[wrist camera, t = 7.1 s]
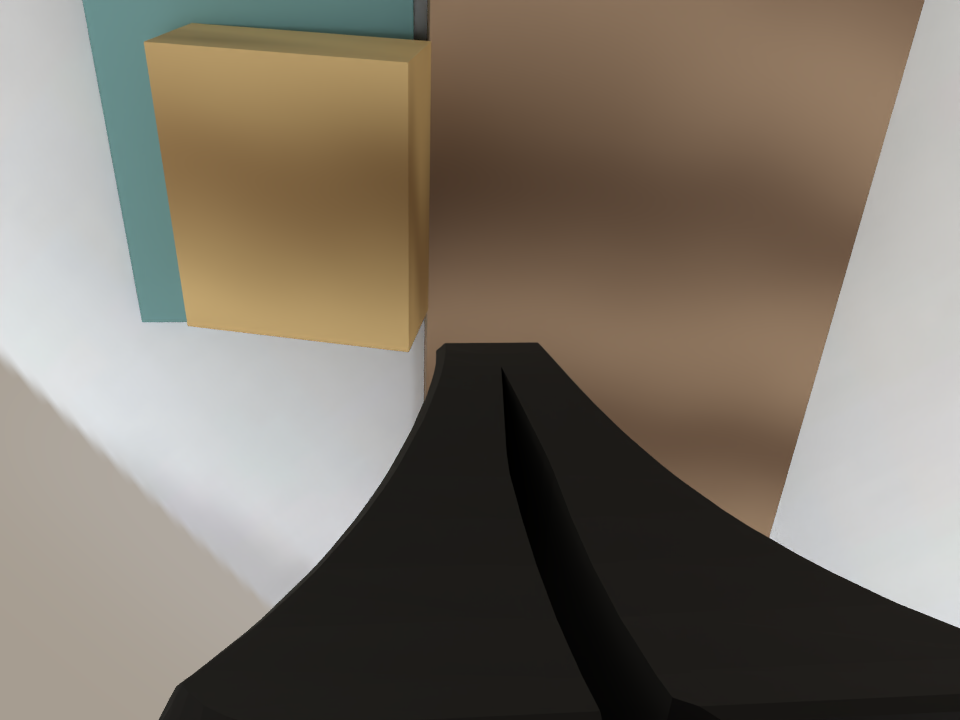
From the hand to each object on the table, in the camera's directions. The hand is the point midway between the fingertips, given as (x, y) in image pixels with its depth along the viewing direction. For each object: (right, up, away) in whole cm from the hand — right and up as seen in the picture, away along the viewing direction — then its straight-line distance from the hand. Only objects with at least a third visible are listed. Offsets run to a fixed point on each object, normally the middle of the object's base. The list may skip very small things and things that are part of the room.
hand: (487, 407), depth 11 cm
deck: (+4, +4, +9) cm, 11 cm away
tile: (-4, +5, +7) cm, 9 cm away
